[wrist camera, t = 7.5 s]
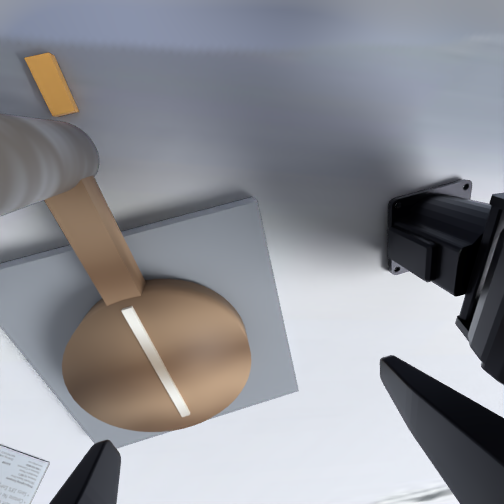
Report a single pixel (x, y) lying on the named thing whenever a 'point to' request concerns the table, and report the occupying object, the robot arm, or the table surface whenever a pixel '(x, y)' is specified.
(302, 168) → the table surface
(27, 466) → the light bulb box
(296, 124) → the table surface
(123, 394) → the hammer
